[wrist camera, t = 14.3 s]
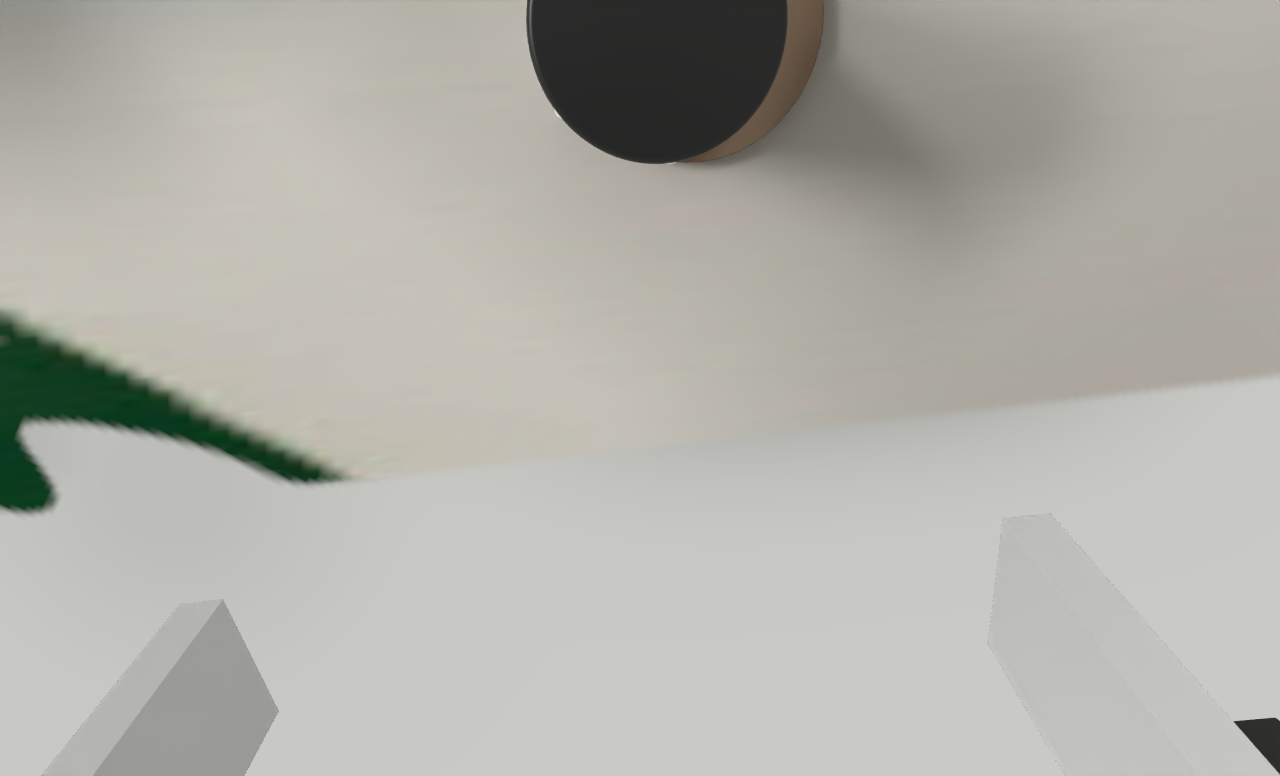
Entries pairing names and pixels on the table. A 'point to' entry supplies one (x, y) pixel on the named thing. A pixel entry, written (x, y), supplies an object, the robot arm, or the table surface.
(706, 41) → the jar
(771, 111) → the candle base
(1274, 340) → the table surface
